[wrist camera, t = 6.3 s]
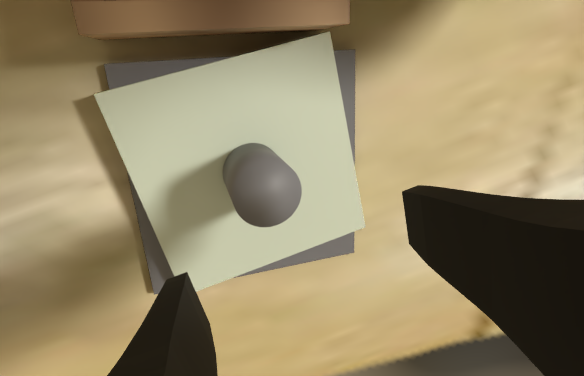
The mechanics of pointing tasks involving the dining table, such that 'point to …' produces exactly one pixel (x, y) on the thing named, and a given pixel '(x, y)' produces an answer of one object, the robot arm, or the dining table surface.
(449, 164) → the dining table surface
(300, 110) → the lid
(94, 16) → the box
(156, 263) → the mat
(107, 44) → the dining table surface
